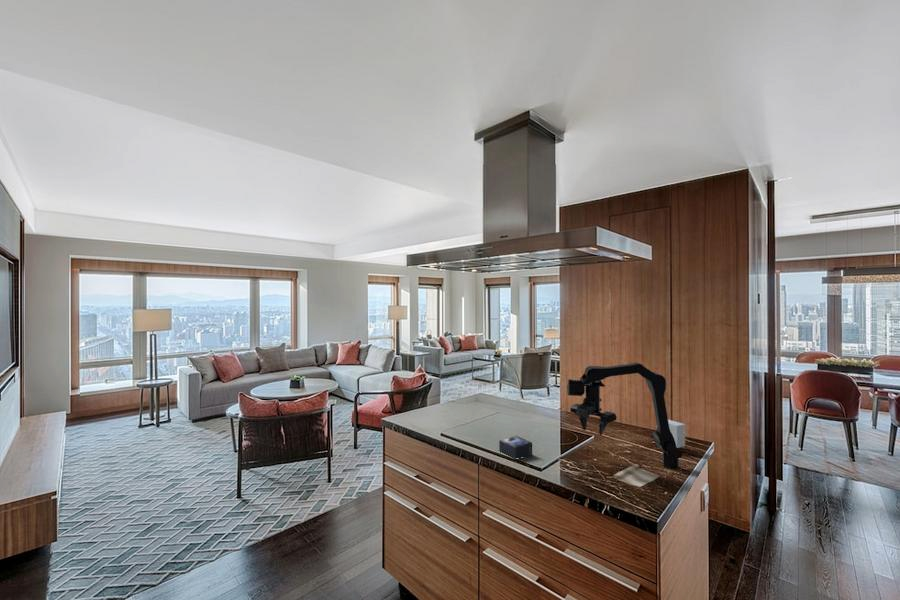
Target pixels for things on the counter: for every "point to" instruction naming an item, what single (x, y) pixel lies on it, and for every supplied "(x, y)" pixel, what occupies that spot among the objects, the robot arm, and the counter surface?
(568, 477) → the counter surface
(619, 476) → the board
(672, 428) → the skincare box
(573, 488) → the counter surface
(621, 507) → the counter surface
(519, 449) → the small box
